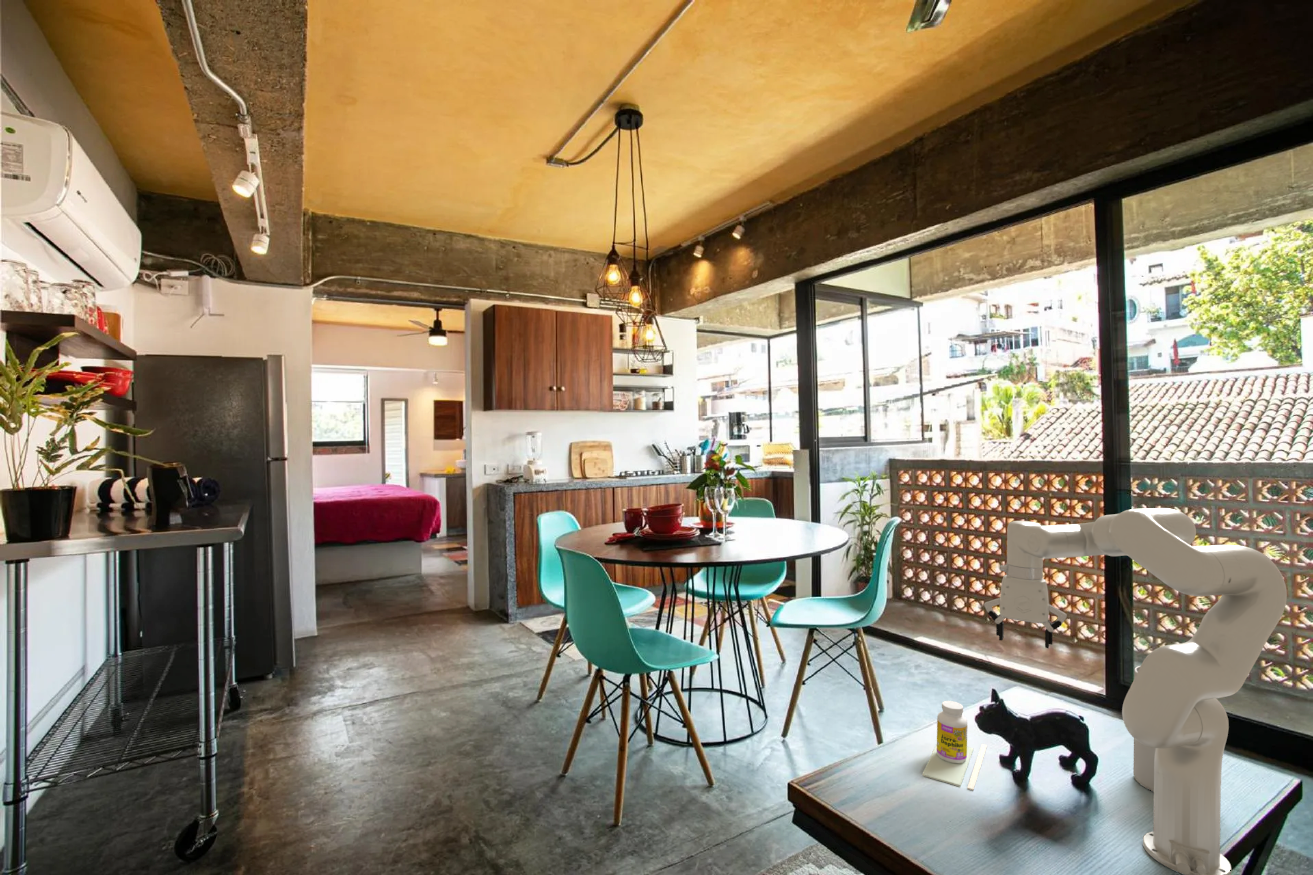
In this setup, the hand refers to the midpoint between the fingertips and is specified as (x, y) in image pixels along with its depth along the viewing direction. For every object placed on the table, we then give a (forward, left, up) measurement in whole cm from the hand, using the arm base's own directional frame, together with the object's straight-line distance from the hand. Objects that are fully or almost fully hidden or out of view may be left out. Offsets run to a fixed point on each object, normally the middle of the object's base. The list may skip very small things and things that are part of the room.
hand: (1023, 642), depth 152 cm
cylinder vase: (+5, -28, -28) cm, 40 cm away
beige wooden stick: (-10, +9, -28) cm, 31 cm away
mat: (-12, +15, -28) cm, 34 cm away
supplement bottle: (-10, +14, -28) cm, 33 cm away
